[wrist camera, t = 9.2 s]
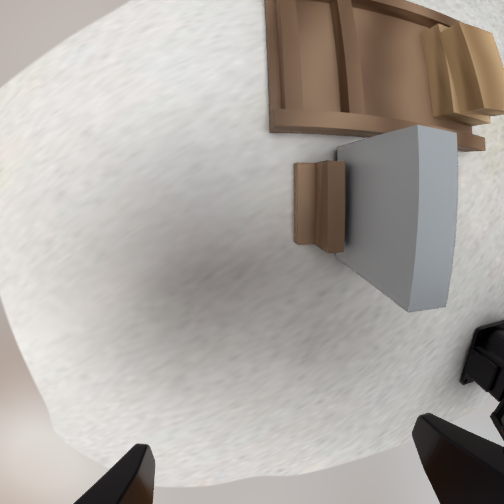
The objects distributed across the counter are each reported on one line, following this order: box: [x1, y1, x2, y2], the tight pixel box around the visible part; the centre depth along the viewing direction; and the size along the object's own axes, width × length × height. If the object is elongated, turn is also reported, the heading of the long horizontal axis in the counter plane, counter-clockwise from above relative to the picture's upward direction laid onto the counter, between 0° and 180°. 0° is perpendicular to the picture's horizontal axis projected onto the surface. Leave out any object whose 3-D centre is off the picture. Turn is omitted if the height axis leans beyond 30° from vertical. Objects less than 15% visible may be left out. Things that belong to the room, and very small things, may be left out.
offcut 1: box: [421, 24, 491, 126], centre depth 16 cm, size 4×7×2 cm, turn 1°
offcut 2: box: [439, 22, 504, 116], centre depth 14 cm, size 4×6×2 cm, turn 9°
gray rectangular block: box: [336, 125, 458, 312], centre depth 14 cm, size 2×7×9 cm, turn 1°
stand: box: [294, 161, 345, 253], centre depth 18 cm, size 7×5×4 cm
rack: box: [265, 0, 485, 152], centre depth 17 cm, size 16×11×2 cm
